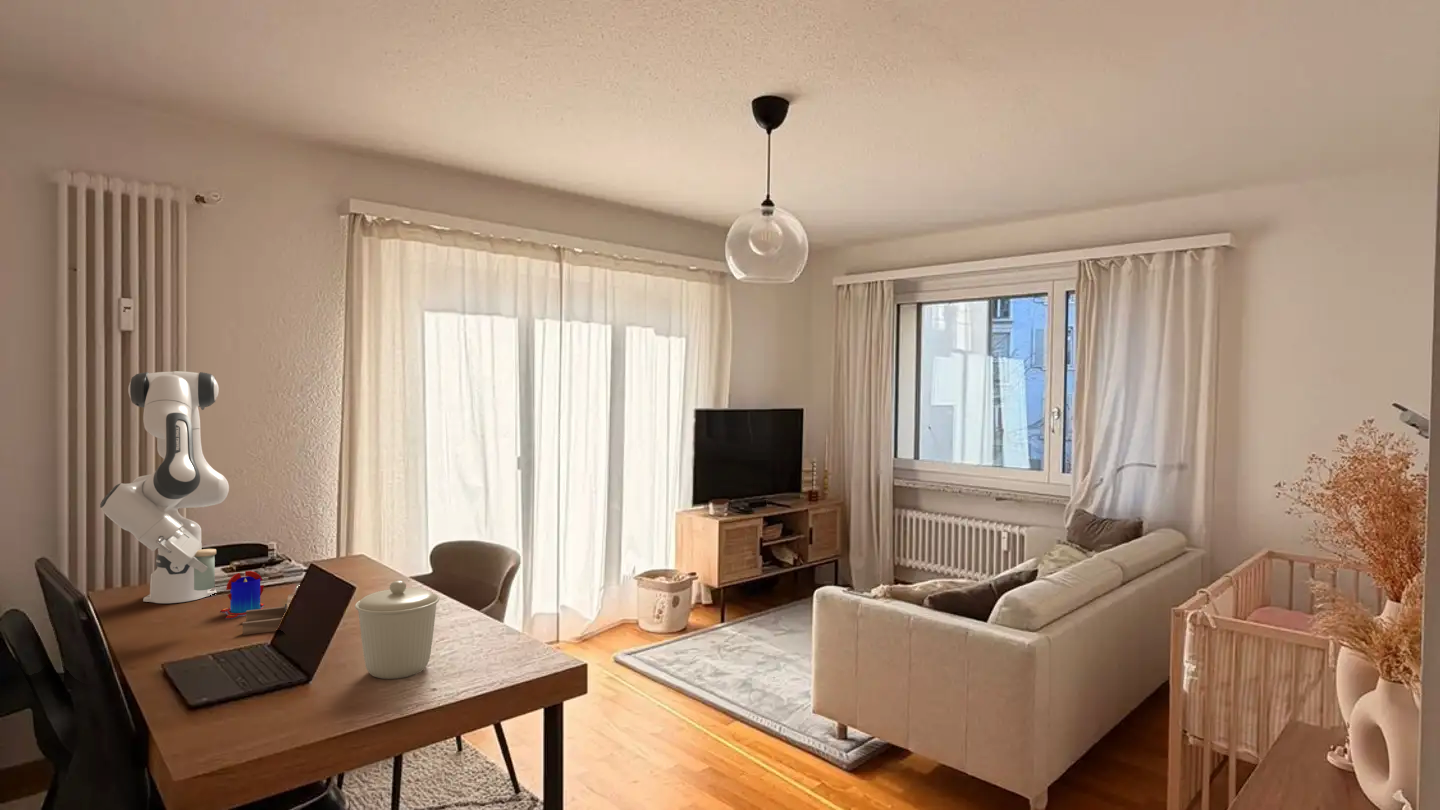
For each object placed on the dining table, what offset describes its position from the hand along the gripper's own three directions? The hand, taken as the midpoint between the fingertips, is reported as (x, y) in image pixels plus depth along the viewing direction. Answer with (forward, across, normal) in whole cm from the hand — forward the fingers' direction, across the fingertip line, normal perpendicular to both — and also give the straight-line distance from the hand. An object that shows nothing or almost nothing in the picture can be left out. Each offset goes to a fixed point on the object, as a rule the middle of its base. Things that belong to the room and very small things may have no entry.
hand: (207, 567), depth 208 cm
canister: (+43, -53, -18) cm, 71 cm away
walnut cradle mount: (+22, 0, +2) cm, 22 cm away
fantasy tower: (+18, +18, +7) cm, 26 cm away
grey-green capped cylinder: (+3, 0, +4) cm, 5 cm away
